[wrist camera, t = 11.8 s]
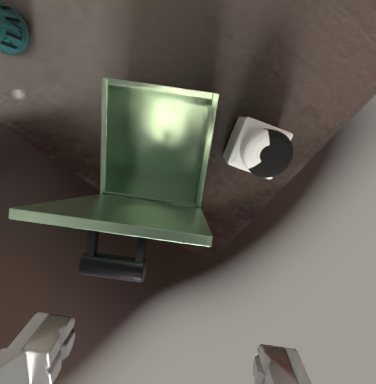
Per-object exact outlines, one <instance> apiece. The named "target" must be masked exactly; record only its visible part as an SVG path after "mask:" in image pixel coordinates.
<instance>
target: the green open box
mask: <svg viewBox="0 0 376 384" xmlns="http://www.w3.org/2000/svg"><path fill="white" fill-rule="evenodd" d="M218 100H219V93H212V92H205V91H198V90H191V89H184V88H177V87H170V86H163V85H156V84H149V83H141V82H134V81H127V80H120V79H113V78H106V77H102V100H101V194H103V195H110V196H117V197H124V198H131V199H138V200H145V201H152V202H160V203H167V204H174V205H181V206H188V207H195V208H201V203H202V197H203V191H204V185H205V179H206V173H207V167H208V161H209V155H210V149H211V143H212V137H213V131H214V125H215V119H216V113H217V107H218Z"/></svg>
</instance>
